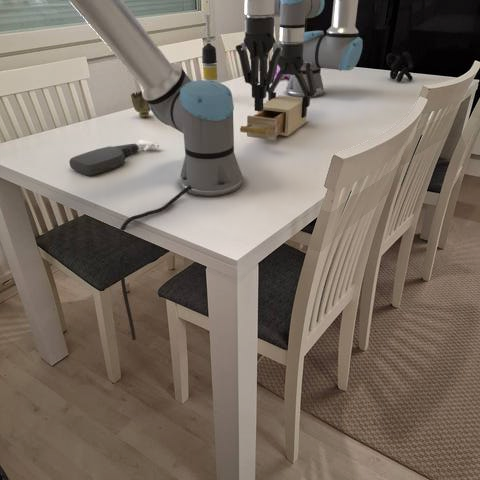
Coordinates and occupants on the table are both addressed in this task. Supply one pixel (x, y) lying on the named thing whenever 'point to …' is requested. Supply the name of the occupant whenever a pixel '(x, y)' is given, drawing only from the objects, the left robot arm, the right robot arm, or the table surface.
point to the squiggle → (399, 66)
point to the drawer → (265, 124)
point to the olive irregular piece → (140, 104)
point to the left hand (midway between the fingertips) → (258, 109)
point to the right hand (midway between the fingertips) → (288, 114)
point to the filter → (209, 57)
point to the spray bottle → (106, 157)
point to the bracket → (283, 75)
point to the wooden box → (287, 111)
